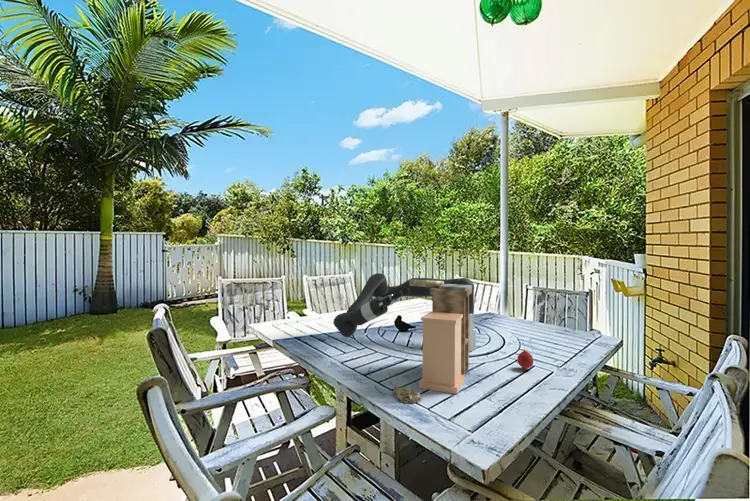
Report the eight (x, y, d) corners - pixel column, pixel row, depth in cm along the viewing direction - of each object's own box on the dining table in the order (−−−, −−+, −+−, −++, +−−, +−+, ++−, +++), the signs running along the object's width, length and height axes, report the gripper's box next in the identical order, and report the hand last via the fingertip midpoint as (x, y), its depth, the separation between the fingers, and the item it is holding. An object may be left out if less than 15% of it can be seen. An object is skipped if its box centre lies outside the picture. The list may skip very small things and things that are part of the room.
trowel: (405, 286, 143) (405, 280, 143) (414, 284, 151) (415, 278, 151) (464, 290, 131) (465, 283, 131) (471, 288, 139) (471, 281, 139)
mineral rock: (428, 391, 114) (412, 391, 109) (426, 406, 113) (410, 406, 108) (403, 383, 122) (387, 383, 116) (401, 396, 121) (385, 397, 115)
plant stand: (429, 372, 137) (429, 289, 136) (436, 364, 146) (436, 286, 145) (466, 378, 131) (467, 291, 130) (471, 369, 140) (471, 288, 139)
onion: (532, 368, 142) (532, 348, 142) (534, 373, 136) (534, 352, 136) (516, 366, 144) (517, 346, 144) (517, 371, 138) (517, 350, 138)
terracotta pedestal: (418, 387, 122) (419, 317, 122) (429, 375, 134) (429, 311, 134) (457, 394, 117) (457, 321, 117) (464, 380, 129) (464, 314, 128)
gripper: (362, 303, 145) (395, 284, 140) (376, 298, 158) (406, 281, 153) (371, 320, 144) (404, 302, 138) (384, 313, 157) (415, 297, 151)
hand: (405, 291), depth 145 cm, fingers open, 8 cm apart
